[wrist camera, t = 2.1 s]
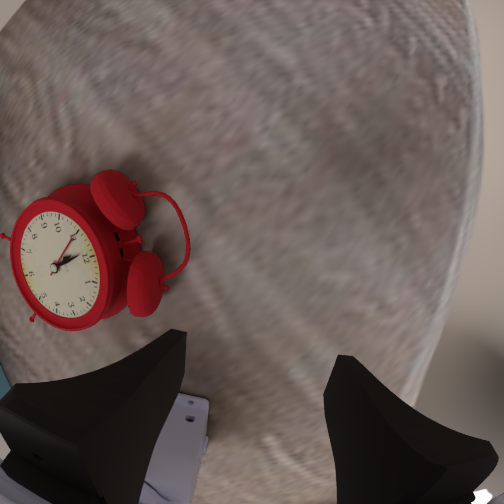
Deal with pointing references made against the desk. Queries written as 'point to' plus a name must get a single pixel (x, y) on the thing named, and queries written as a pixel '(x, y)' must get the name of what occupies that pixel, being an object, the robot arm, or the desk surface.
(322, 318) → the desk surface
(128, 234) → the alarm clock
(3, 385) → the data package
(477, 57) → the desk surface
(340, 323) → the desk surface
